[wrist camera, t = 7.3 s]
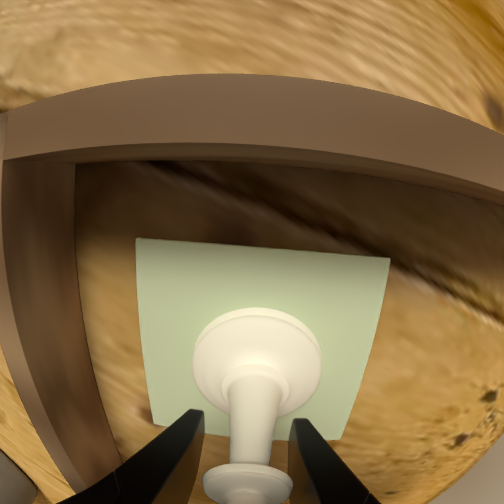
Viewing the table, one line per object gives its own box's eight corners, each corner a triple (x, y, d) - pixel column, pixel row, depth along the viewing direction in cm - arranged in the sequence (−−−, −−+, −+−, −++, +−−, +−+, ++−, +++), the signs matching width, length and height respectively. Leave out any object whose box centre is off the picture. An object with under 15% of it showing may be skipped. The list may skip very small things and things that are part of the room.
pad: (339, 436, 12) (340, 439, 11) (155, 421, 12) (153, 423, 12) (388, 257, 10) (390, 258, 9) (138, 237, 10) (135, 238, 10)
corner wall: (415, 489, 13) (429, 526, 9) (113, 478, 14) (94, 516, 10) (533, 184, 8) (590, 190, 4) (53, 131, 9) (-15, 120, 5)
